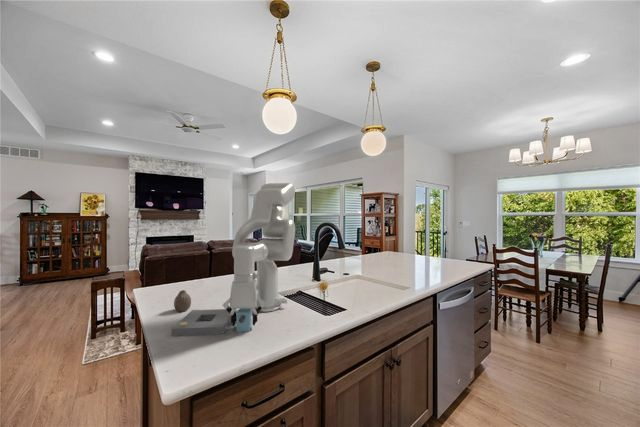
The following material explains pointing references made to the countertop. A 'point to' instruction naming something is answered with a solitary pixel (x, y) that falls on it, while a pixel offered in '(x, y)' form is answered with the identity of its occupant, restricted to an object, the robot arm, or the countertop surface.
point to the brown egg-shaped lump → (182, 301)
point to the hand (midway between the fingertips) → (244, 323)
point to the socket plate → (194, 325)
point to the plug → (244, 319)
